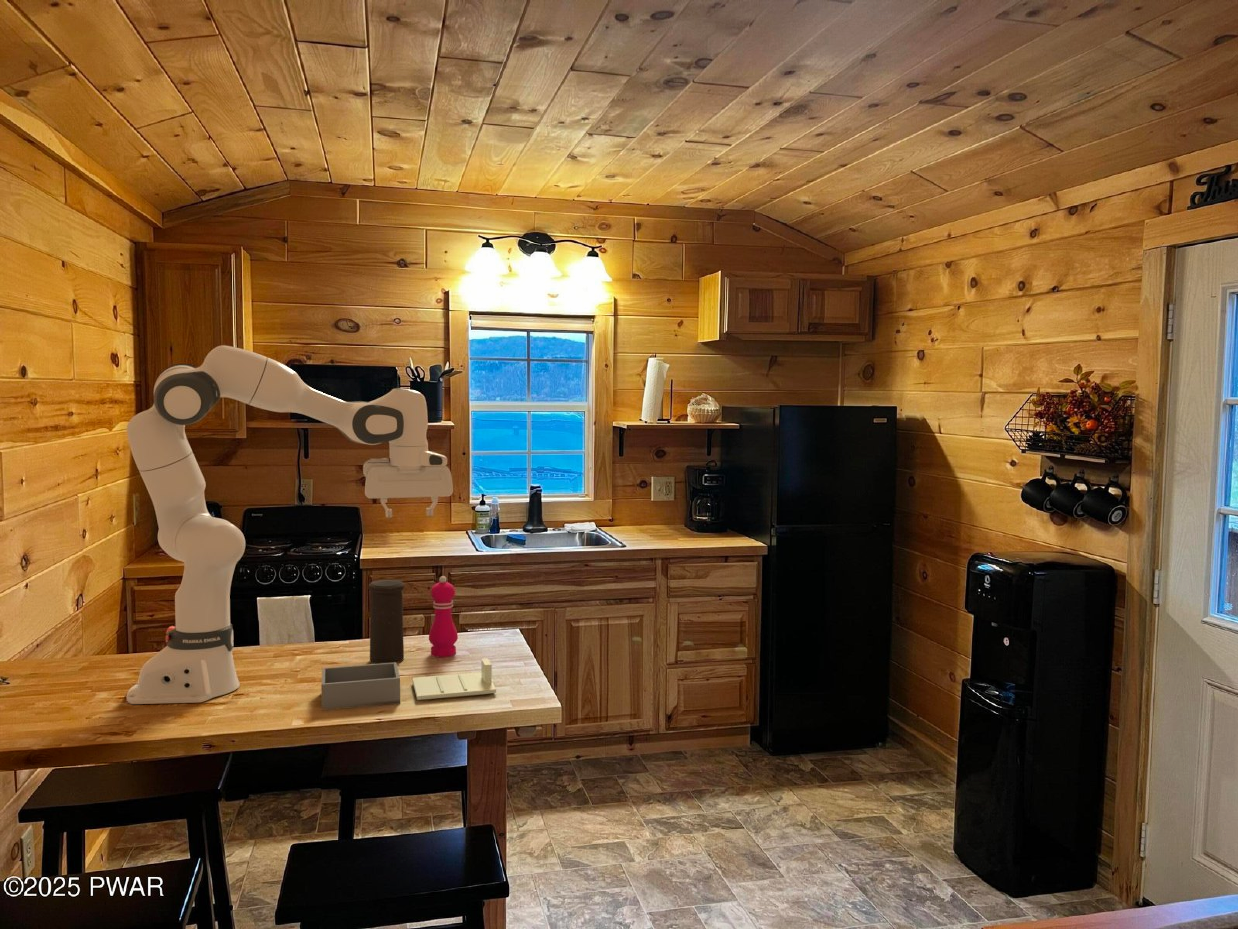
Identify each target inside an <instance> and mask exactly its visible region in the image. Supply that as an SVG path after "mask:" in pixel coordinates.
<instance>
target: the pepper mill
mask: <svg viewBox="0 0 1238 929" xmlns="http://www.w3.org/2000/svg"><path fill="white" fill-rule="evenodd" d="M438 579H439V582H437V583H435V584H434V585H432V587H431V589H430V596H431V598H432V599H433V602H432V604H433V606H432V608H433V609H434V619H433V622H432V625H431V627H430V629H429V633H428V640H429V642H430V644H431V645H432V646H431V647H430V655H431V656H432V657H435V658H436V657H437V658H447V657H452V656H455V655H456V654H457V647H456V645H455V643H456V642H457V641H458V638H459V636H458V630H457V628H456V626H455V623H454V621H453V617H452V608H453V607H454V601H453V598H455V596H456V589H455V587H454V585H453V584H451V583H450V582H448V581H447V577H446V576H445V575H442V576H440V577H439V578H438Z"/></svg>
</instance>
